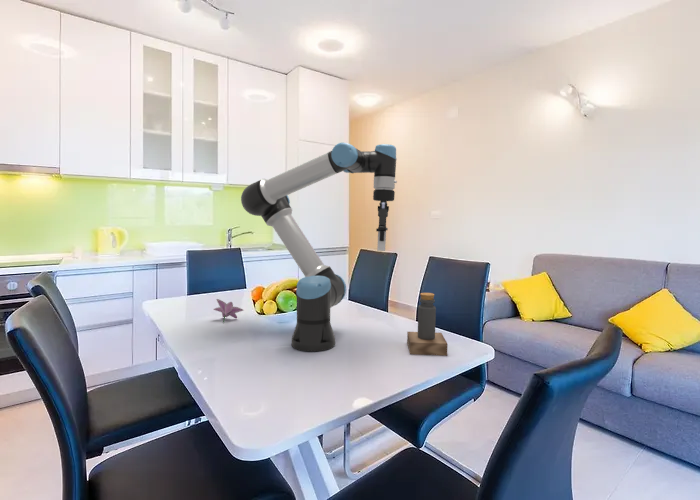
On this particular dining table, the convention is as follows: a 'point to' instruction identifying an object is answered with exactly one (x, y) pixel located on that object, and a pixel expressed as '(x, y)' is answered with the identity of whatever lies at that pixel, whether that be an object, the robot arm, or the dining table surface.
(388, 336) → the dining table surface
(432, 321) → the bottle
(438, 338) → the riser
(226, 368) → the dining table surface
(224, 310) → the lily
